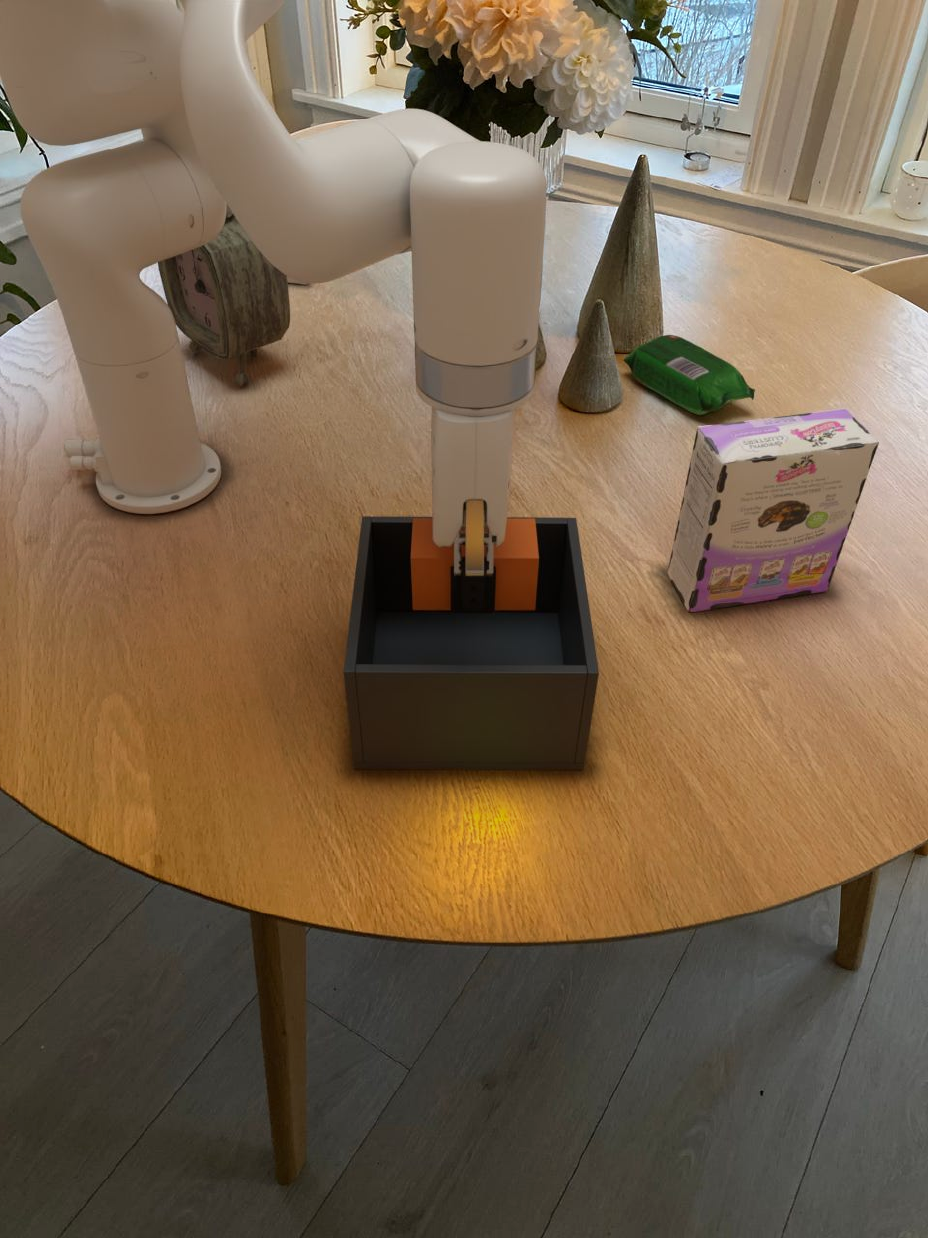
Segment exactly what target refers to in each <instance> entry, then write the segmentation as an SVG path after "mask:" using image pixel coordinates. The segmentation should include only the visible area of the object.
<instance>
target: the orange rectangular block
mask: <svg viewBox="0 0 928 1238" xmlns="http://www.w3.org/2000/svg"><path fill="white" fill-rule="evenodd" d="M460 531H466V527H461V529H460ZM484 531H488V527H484ZM462 556H465V545H461V559H462ZM484 556H486V545H484ZM538 564H539V553H538V543H537V533H536V522H535V519H507V523H506V531H505V539H504V541H503V542H502V543H501V544H500V545H499V546H497V547H496V544H494V562H493V566H496V590H495V610H535V604H536V591H537V578H538ZM451 566H454V542H453V544H452V545H451V546H442V547H439V546H437V545H436V544H435V543H434V541H433V518H414V519H413V526H412V544H411V577H412V601H413V610H451Z"/></svg>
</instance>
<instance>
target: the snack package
mask: <svg viewBox="0 0 928 1238" xmlns="http://www.w3.org/2000/svg"><path fill="white" fill-rule="evenodd" d="M622 361H623V363H625V364H626V365H627V366H628V367H629V370H630V371H631V373H632V375H633V377H634V379H636V381H638V382H639V384H641V385H642V386H644V387H646V388H648V389H649V390H651V391H653V392H655V393H657V394H658V395H660V396H662V397H663V398H665V399H667V400H669V401H670V402H672V403H673V404H675V405H677V406H678V407H681V408H683V409H684V410H687V411H688V412H690V413H692V414H695V415H698V416H703V415H705V414H708V413H710V412H716V411H719V410H720V409H722V408H723V407H724V406H725V405H726V404H728V403H732V402H735V401H739V400H744V399H748V398H749V399H751V400H752V401H754V399H755V393H756V389H755V388H752V387H751V386H750V385H749V384H748V383H747V382H746V380H745V377H744V376H743V375H742V373H741V372H740V371H739V370H738V369H737V368H736V367H735V366H734V365H732V363H729V362H728V361H726V360H724V359H723V358H721V357H719V356H717V355H715V354H713V353H712V352H710V351H708V350H706V349H704V348H703V347H701V346H699V345H697V344H695V343H693V342H691V341H689V340H687V339H685V338H683V337H681V336H678V335H674V334H665V335H661V336H657V337H655V338H653V339H651V340H650V341H648V342H646V343H643V344H641V345H639V346H637V347H636V348H634V349H633V350H632V351H631V352H630V353H629V354H628V355H627V356H626V357H625V358H623V360H622Z"/></svg>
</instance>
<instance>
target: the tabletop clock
mask: <svg viewBox="0 0 928 1238" xmlns="http://www.w3.org/2000/svg"><path fill="white" fill-rule="evenodd" d="M226 206H227V209H226V219H225V223H224V226H223V228H222V230H221V232H220V233H219V235H218V236H217V237H216V238H215V239H213V240H212V241H211V242H209V243H207V244H205V245H203V246H201V247H198V248H195V249H193V250H190V251H188V252H185V253H182V254H179V255H176V256H174V257H171V258H168V259H165V260H162V261H160V262H157V267H158V272H159V276H160V280H161V284H162V289H163V293H164V296H165V301H166V303H167V304H168V306H169V308H170V309H171V311H172V314H173V316H174V320H175V323H176V328H178V329H179V331H181V332H182V334H183V335H184V336H185V337H187V338H188V339H189V340H190V342H189V343H188V350H189V351H190V352H191V353H192V354H196V355H197V354H200V353H201V352H202V350H203V351H206V352H207V353H209V354H210V355H212V356H213V357H215V358H218V359H220V360H224V361H225V360H231V359H233V358H236V357H237V360H238V368H239V373H237V374H236V375H235V383H236V384H237V386H239V387H242V388H243V387H246V386H247V385H248V384H249V383H250V376H249V374H247V373H246V372H245V371H246V370H245V369H246V357H248V358H249V359H254V358H256V357H257V355H258V352H259V351H258V349H260V348H262V347H265V346H268V345H271V344H273V343H276V342H278V341H281V340H282V339H283V338H284V336H285V334H286V332H287V331H288V329H289V328H290V325H291V324H290V323H291V305H290V304H291V303H290V294H289V283H288V282H287V275H285V274H283V273H282V272H281V271H280V270H278V269H277V268H276V267H274V266H273V265H272V264H271V263H270V262H269V261H268V260H267V259H266V258H265V256H264V255H263V254H262V253H261V252H260V251H259V250H258V248H257V247H256V246H255V244H254V243H253V242H252V240H251V239H250V238H249V237H248V235H247V234H246V232H245V231H244V229H243V228H242V226H241V225H240V223H239V222H238V220H237V219H236V217H235V216H234V214H233V212H232V211H231V209H230V208H229V206H228V205H227V203H226Z"/></svg>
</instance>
